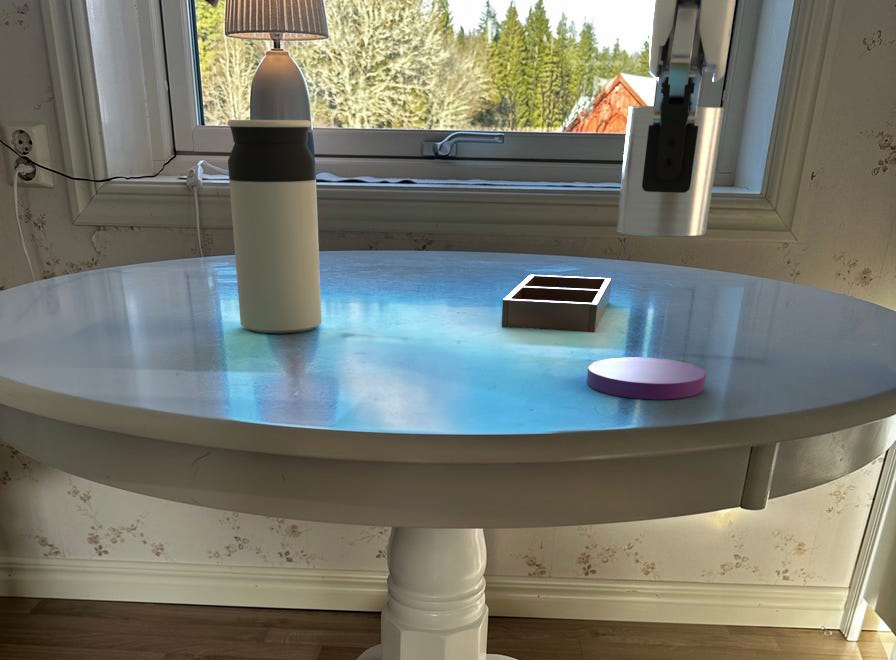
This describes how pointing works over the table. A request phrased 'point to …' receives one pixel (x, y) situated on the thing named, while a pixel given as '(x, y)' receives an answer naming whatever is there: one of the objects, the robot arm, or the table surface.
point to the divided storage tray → (557, 303)
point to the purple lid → (646, 378)
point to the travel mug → (275, 225)
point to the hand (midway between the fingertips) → (667, 186)
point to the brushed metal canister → (668, 209)
